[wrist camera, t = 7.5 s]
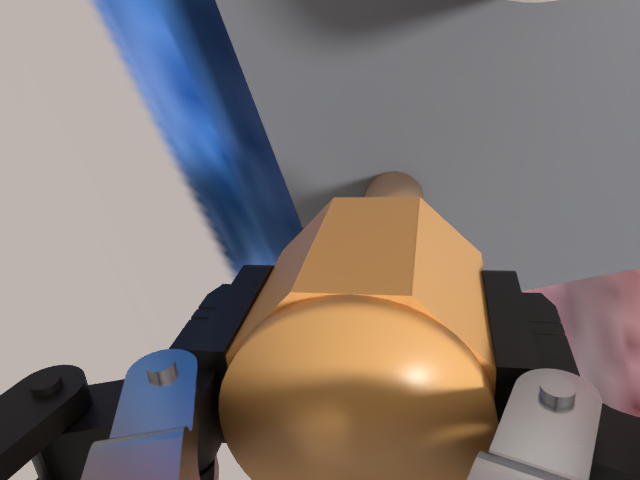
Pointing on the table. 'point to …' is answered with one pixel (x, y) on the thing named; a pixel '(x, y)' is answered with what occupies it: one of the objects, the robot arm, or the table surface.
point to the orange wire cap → (365, 352)
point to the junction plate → (461, 118)
